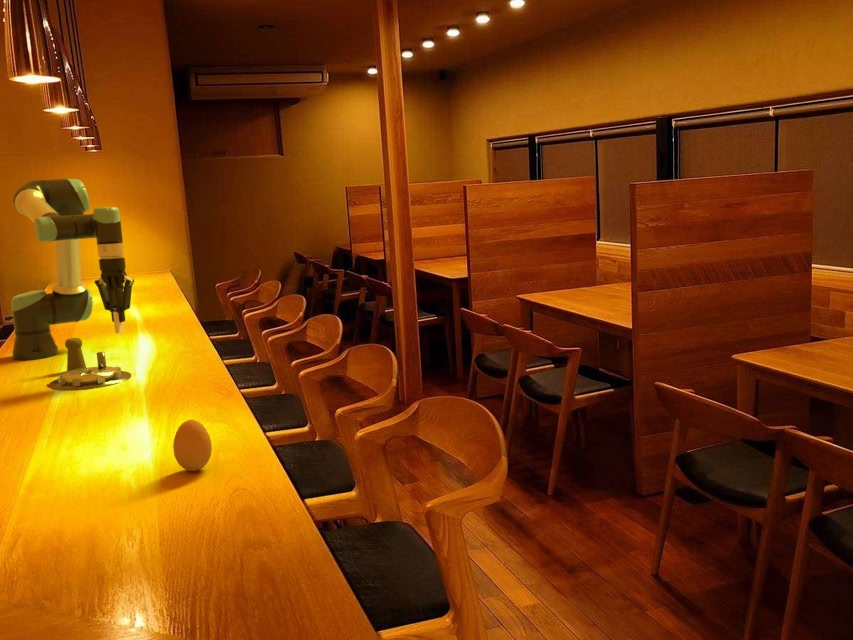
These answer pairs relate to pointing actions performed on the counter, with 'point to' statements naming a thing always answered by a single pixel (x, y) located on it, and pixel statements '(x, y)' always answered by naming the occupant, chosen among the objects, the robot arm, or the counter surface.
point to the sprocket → (90, 374)
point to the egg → (192, 445)
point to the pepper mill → (74, 354)
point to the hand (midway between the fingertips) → (120, 332)
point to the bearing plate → (57, 386)
